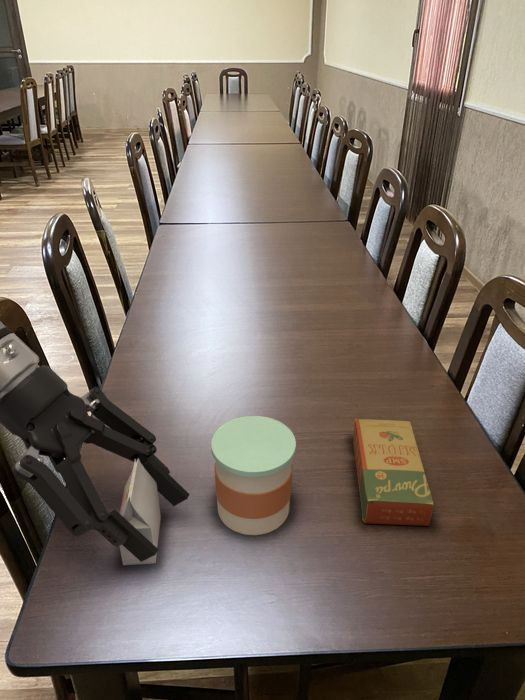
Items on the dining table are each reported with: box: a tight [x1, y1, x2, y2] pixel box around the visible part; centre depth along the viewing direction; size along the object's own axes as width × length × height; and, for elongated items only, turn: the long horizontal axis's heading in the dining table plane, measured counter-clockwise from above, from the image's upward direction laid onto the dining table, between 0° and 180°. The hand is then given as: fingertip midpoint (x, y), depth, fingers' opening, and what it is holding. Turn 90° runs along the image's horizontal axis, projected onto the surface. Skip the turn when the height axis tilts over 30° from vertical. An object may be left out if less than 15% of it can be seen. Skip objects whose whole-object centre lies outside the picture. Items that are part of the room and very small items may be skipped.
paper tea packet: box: [119, 458, 162, 566], centre depth 62 cm, size 4×7×10 cm, turn 4°
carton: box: [352, 418, 435, 527], centre depth 72 cm, size 8×16×4 cm, turn 177°
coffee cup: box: [210, 415, 297, 536], centre depth 66 cm, size 10×10×11 cm
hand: (166, 526), depth 62 cm, fingers closed on paper tea packet, 8 cm apart
